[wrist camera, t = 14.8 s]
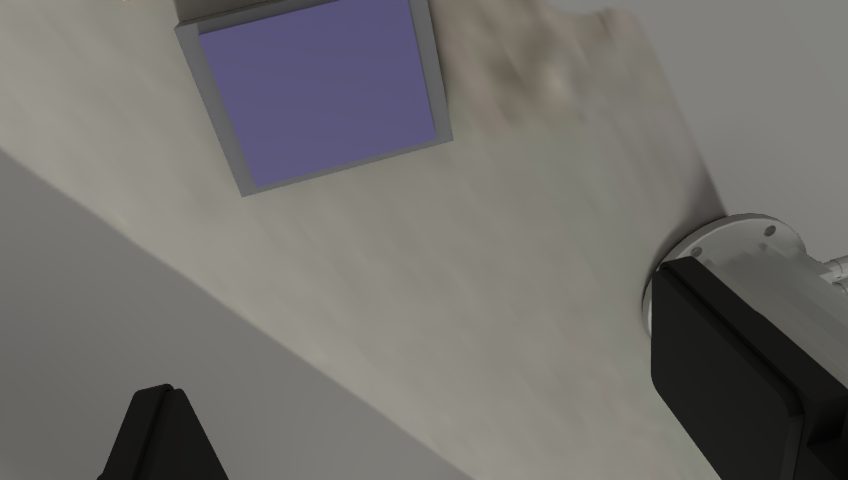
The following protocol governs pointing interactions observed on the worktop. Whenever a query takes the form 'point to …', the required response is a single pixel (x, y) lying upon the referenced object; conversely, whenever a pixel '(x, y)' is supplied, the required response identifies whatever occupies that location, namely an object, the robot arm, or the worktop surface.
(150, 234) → the worktop surface
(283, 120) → the ink pad
